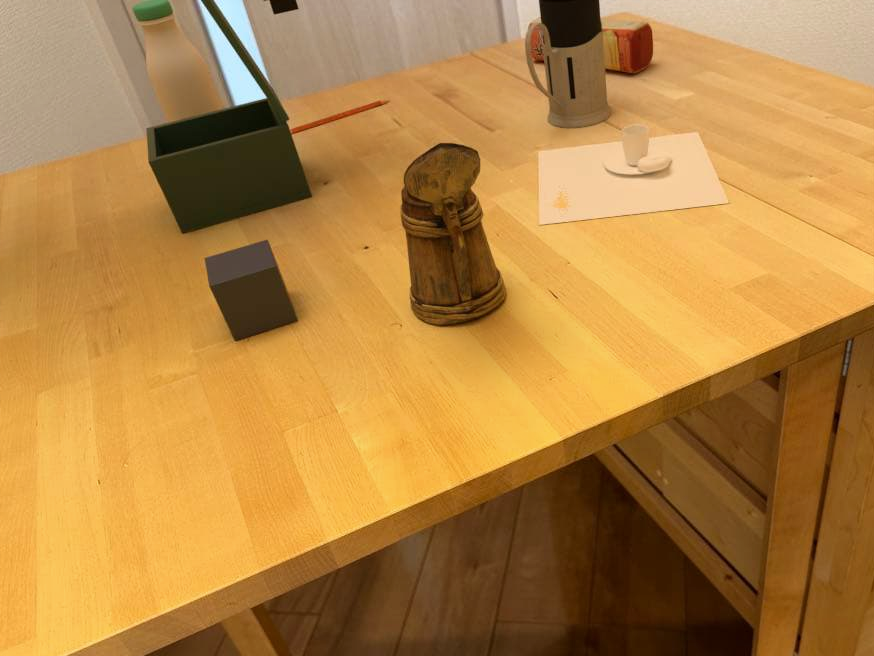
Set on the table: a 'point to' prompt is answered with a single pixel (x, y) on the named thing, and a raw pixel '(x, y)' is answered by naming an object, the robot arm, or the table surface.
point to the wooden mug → (448, 238)
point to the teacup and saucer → (627, 177)
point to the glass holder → (572, 62)
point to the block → (250, 290)
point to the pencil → (337, 116)
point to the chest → (226, 164)
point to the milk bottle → (175, 64)
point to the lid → (245, 57)
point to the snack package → (614, 44)
